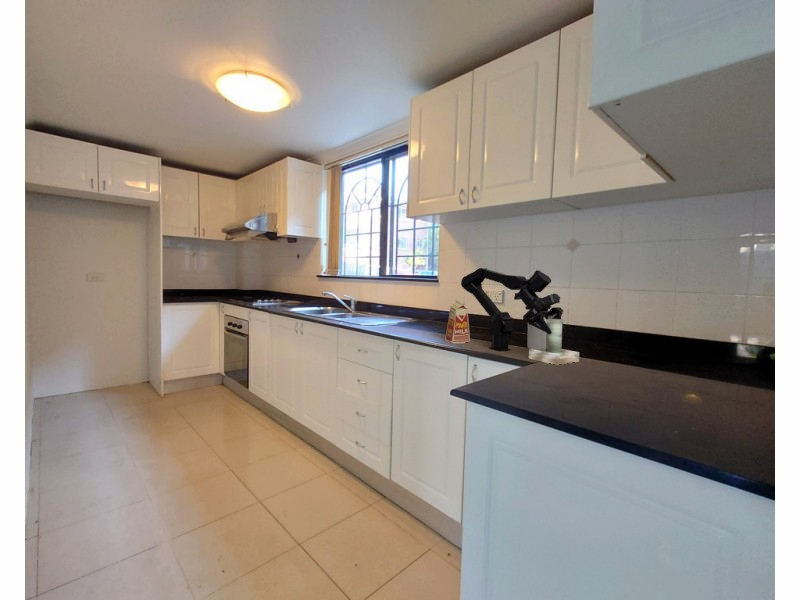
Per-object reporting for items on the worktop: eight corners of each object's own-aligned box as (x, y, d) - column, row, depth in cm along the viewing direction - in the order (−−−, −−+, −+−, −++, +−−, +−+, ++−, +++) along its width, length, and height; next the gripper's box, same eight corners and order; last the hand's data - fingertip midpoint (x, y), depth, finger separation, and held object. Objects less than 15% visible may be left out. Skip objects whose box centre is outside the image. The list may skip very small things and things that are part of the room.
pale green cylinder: (539, 353, 128) (540, 318, 127) (555, 352, 129) (557, 318, 129) (550, 356, 121) (551, 320, 121) (567, 356, 123) (569, 320, 122)
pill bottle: (528, 346, 153) (529, 313, 152) (547, 348, 149) (548, 314, 148) (526, 349, 146) (527, 314, 145) (546, 351, 142) (547, 315, 141)
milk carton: (444, 340, 165) (445, 299, 164) (461, 340, 168) (462, 299, 167) (453, 344, 156) (454, 300, 155) (471, 343, 159) (472, 300, 158)
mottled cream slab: (528, 358, 128) (529, 349, 128) (550, 355, 133) (550, 346, 133) (556, 365, 117) (557, 355, 117) (578, 361, 123) (579, 352, 123)
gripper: (531, 286, 122) (559, 319, 113) (559, 286, 133) (587, 317, 124) (511, 306, 129) (537, 339, 120) (540, 305, 139) (565, 335, 131)
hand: (557, 332), depth 124 cm, fingers open, 9 cm apart
